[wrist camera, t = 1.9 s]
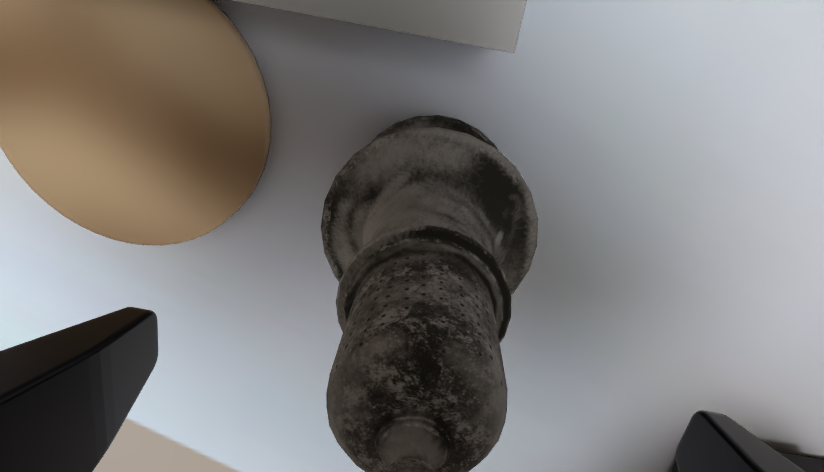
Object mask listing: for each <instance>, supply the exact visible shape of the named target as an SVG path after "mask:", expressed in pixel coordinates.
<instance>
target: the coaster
mask: <svg viewBox="0 0 824 472" xmlns="http://www.w3.org/2000/svg"><path fill="white" fill-rule="evenodd" d="M270 137H271V117H270V110H269V102H268V97H267V93H266V89H265V85H264V81H263V78H262V76H261V73H260V70H259V68H258V65H257V63H256V60H255V58H254V56H253V55H252V53H251V51H250V49H249V47H248V45H247V43H246V41H245V40H244V39H243V37H242V36H241V34H240V33H239V31H238V30H237V28H236V27H235V25H234V24H233V23H232V22H231V20H230V19H229V18H228V17H227V16H226V15H225V13H224V12H223V11H222V10H221V9H220V8H219V7H218V6H217V5H216V4H215V3H214V2H213V1H212V0H0V146H1V148H2V150H3V151H4V153H5V155H6V156H7V158H8V160H9V161H10V163H11V164H12V165H13V167H14V168H15V169H16V171H17V172H18V173H19V175H20V176H21V177H22V178H23V180H24V181H25V182H26V183H27V184H28V185H29V186H30V187H31V188H32V190H33V191H34V192H35V193H37V194H38V195H39V196H40V197H41V198H42V199H43V200H44V201H45V202H46V203H47V204H49V205H50V206H51V207H53V208H54V209H55V210H57V211H58V212H59V213H61V214H62V215H63V216H65V217H67V218H68V219H70V220H71V221H73V222H75V223H76V224H78V225H80V226H82V227H84V228H86V229H88V230H90V231H92V232H94V233H97V234H100V235H102V236H105V237H108V238H111V239H114V240H118V241H122V242H127V243H132V244H141V245H167V244H175V243H181V242H184V241H188V240H192V239H195V238H197V237H199V236H202V235H204V234H206V233H208V232H210V231H212V230H213V229H215V228H217V227H218V226H220V225H221V224H222V223H224V222H225V221H226V220H227V219H228V218H229V217H231V216H232V215H233V214H234V213H235V212H236V211H237V210H238V209H239V208H240V207H241V206H242V205H243V204H244V203H245V201H246V200H247V199H248V198H249V197H250V195H251V194H252V192H253V190H254V189H255V187H256V186H257V184H258V182H259V179H260V177H261V175H262V173H263V170H264V167H265V164H266V160H267V156H268V152H269V144H270Z"/></svg>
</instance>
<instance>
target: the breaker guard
mask: <svg viewBox="0 0 824 472" xmlns="http://www.w3.org/2000/svg"><path fill="white" fill-rule="evenodd" d="M232 1H238V2H243V3H248V4H254V5H259V6H264V7H270V8H275V9H280V10H286V11H291V12H296V13H302V14H307V15H312V16H318V17H323V18H328V19H334V20H339V21H344V22H350V23H355V24H360V25H366V26H371V27H376V28H382V29H387V30H392V31H398V32H403V33H408V34H414V35H419V36H424V37H430V38H435V39H440V40H446V41H451V42H456V43H462V44H467V45H472V46H478V47H483V48H488V49H494V50H499V51H504V52H510V53H514V52H515V48H516V44H517V40H518V35H519V31H520V27H521V23H522V19H523V14H524V10H525V6H526V2H527V0H232Z"/></svg>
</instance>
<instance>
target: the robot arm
mask: <svg viewBox="0 0 824 472" xmlns="http://www.w3.org/2000/svg"><path fill="white" fill-rule="evenodd" d="M157 357H158V326H157V316H156V314H155V313H154V312H153V311H151V310H146V309H140V308H135V307H127V308H124V309H121V310H118V311H115V312H112V313H109V314H106V315H104V316H101V317H98V318H95V319H92V320H89V321H86V322H83V323H80V324H77V325H75V326H72V327H69V328H66V329H63V330H60V331H57V332H54V333H51V334H49V335H46V336H43V337H40V338H37V339H34V340H31V341H28V342H25V343H22V344H20V345H17V346H14V347H11V348H8V349H5V350H2V351H0V472H92V471H93V470H94V468H95V467H96V465H97V464H98V463H99V461H100V460H101V458H102V457H103V455H104V454H105V452H106V451H107V449H108V448H109V446H110V444H111V443H112V441H113V439H114V438H115V436H116V434H117V432H118V431H119V429H120V427H121V426H122V423H123V422H124V420H125V418H126V417H127V415H128V413H129V411H130V409H131V408H132V406H133V404H134V402H135V401H136V399H137V397H138V395H139V393H140V392H141V390H142V388H143V386H144V385H145V383H146V381H147V379H148V377H149V376H150V374H151V372H152V370H153V369H154V367H155V364H156V361H157ZM676 460H677V461H676V463H675V465H674V467H673V469H672V471H671V472H824V460H822V459H816V458H811V457H805V456H800V455H794V454H788V453H783V452H777V451H775V450H774V449H773V448H771V447H770V446H768V445H767V444H765V443H764V442H763V441H761V440H760V439H758V438H757V437H756V436H754V435H753V434H751V433H750V432H749V431H747V430H746V429H744V428H743V427H742V426H740V425H739V424H737V423H736V422H735V421H733V420H732V419H730V418H729V417H727V416H726V415H723V414H719V413H714V412H708V411H698V412H696V413H695V414H694V415H693V416H692V418H691V420H690V422H689V424H688V426H687V428H686V430H685V432H684V434H683V436H682V438H681V440H680V442H679V444H678V447H677V451H676Z"/></svg>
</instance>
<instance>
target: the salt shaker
mask: <svg viewBox="0 0 824 472" xmlns="http://www.w3.org/2000/svg"><path fill="white" fill-rule="evenodd" d="M537 226H538V218H537V214H536V210H535V207H534V203H533V199H532V195H531V192H530V190H529V188H528V187H527V185H526V183H525V182H524V180H523V178H522V177H521V175H520V173H519V172H518V170H517V168H516V167H515V166H514V165H513V164H512V163H511V162H510V161H509V160H507V159H506V158H505V157H504V156H503V155H502V154H501V153H500V152H499V151H498V149H497V148H496V146H495V145H494V144H493V143H492V142H491V141H490V140H489V139H488V138H487V137H486V136H485V135H484V134H483V133H482V132H481V131H479V130H478V129H476V128H474V127H472V126H470V125H468V124H466V123H464V122H463V121H461V120H457V119H453V118H448V117H443V116H439V115H436V116H417V117H414V118H410V119H407V120H404V121H401V122H398V123H396V124H394V125H393V126H391V127H390V128H388V129H387V130H385V131H384V132H382V133H380V134H379V135H378V136H377V137H376V138H375V139H374V140H373V142H372V143H371V144H369V145H368V146H366V147H365V148H363V149H362V150H360V151H359V152H357V153H356V154H354V155H353V157H352V158H351V159H350V160H349V161H348V162H347V164H346V165H345V166H344V167H343V168H342V169H341V171H340V172H339V173H338V174H337V175H336V177H335V179H334V181H333V184H332V186H331V188H330V190H329V192H328V195H327V197H326V199H325V202H324V209H323V216H322V223H321V231H322V238H323V246H324V253H325V255H326V257H327V260H328V262H329V264H330V266H331V269H332V271H333V273H334V276H335V277H336V278H337V280H338V281H339V287H338V293H337V299H336V306H337V314H338V322H339V324H340V327H341V329H342V331H343V335H342V338H341V341H340V344H339V347H338V351H337V354H336V357H335V360H334V363H333V366H332V369H331V372H330V377H329V382H328V388H327V412H328V419H329V426H330V428H331V430H332V432H333V434H334V436H335V438H336V440H337V442H338V444H339V445H340V446H341V448H342V449H343V450H344V451H345V453H346V454H347V455H348V456H349V457H350V458H351V460H352V461H353V462H354V463H355V464H356V465H357V466H358V467H360V468H361V469H362V470H364V471H365V472H468V471H470V470H471V469H472V468H474V467H475V466H476V465H477V464H479V463H480V462H481V461H482V460H483V459H484V458H485V457H486V456H487V455H488V454H489V452H490V451H491V450H492V448H493V447H494V446H495V444H496V443H497V442H498V440H499V437H500V435H501V432H502V429H503V426H504V423H505V418H506V412H507V385H506V379H505V373H504V367H503V361H502V355H501V350H500V342H501V341H502V339H503V338H504V336H505V333H506V330H507V327H508V324H509V321H510V318H511V294H512V293H514V292H515V290H516V289H517V287H518V286H519V284H520V283H521V281H522V280H523V278H524V277H525V275H526V274H527V272H528V271H529V268H530V265H531V262H532V259H533V256H534V253H535V250H536V247H537Z"/></svg>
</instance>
